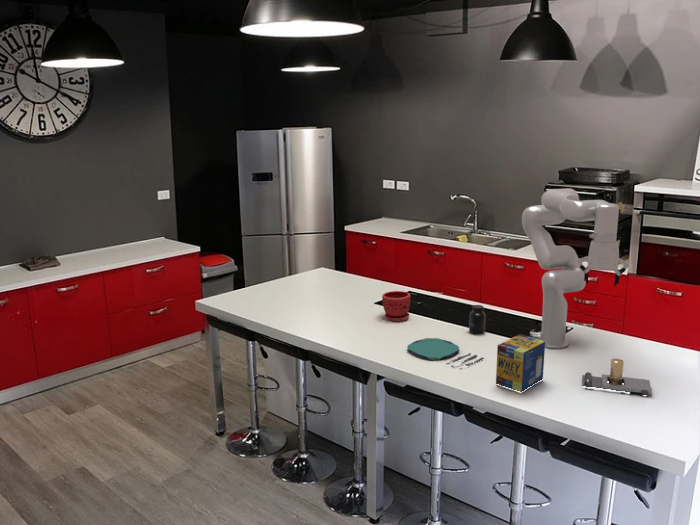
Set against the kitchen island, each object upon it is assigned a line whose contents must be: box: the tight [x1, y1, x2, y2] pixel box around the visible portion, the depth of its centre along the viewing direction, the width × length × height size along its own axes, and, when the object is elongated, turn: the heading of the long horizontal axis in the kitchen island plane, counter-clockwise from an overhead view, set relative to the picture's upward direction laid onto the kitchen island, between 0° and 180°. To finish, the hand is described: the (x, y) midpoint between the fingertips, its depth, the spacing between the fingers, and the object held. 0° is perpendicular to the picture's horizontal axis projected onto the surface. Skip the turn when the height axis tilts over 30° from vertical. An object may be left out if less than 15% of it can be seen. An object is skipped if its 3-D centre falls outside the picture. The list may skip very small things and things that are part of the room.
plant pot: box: [381, 290, 411, 322], centre depth 293 cm, size 13×13×12 cm
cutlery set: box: [406, 337, 485, 367], centre depth 251 cm, size 20×30×2 cm, turn 40°
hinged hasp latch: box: [581, 371, 652, 396], centre depth 219 cm, size 22×10×2 cm, turn 69°
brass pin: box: [609, 358, 625, 385], centre depth 219 cm, size 4×4×10 cm
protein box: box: [495, 333, 546, 392], centre depth 223 cm, size 10×15×16 cm
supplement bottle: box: [468, 304, 487, 335], centre depth 274 cm, size 7×7×12 cm
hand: (601, 284), depth 227 cm, fingers open, 9 cm apart
